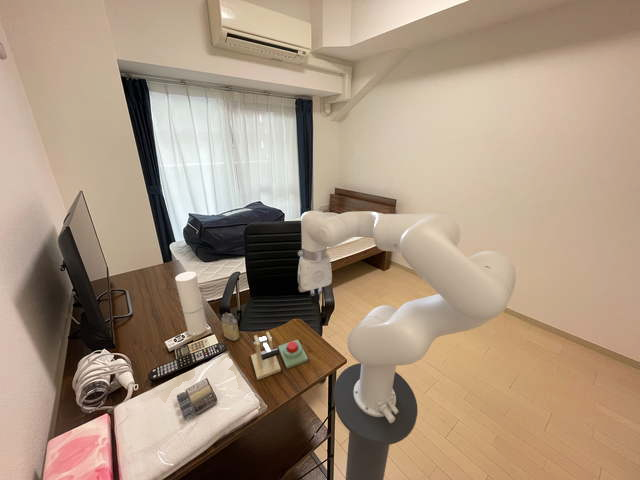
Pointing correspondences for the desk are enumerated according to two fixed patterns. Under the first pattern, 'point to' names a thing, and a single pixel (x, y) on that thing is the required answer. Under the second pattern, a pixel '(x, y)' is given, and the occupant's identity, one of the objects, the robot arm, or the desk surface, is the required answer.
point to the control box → (292, 355)
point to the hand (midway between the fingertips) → (314, 302)
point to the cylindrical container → (191, 302)
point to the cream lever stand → (267, 365)
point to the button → (292, 347)
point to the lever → (267, 349)
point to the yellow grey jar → (230, 327)
